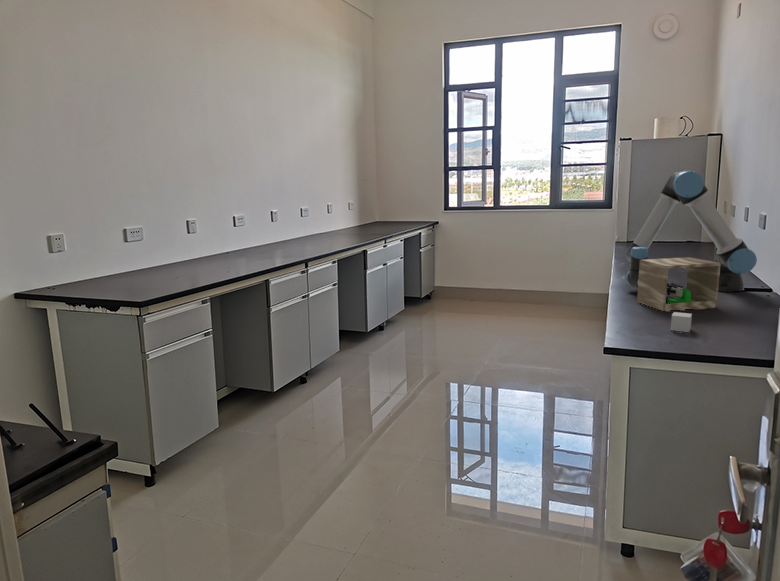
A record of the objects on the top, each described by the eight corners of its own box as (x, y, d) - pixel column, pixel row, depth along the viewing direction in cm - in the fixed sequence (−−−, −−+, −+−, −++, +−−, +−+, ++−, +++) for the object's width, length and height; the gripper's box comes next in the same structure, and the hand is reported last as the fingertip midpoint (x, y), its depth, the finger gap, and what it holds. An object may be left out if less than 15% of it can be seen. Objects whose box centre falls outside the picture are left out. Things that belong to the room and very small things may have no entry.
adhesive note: (689, 333, 203) (690, 317, 202) (670, 331, 206) (671, 315, 205) (690, 329, 208) (691, 313, 207) (672, 327, 211) (673, 311, 210)
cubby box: (687, 299, 256) (690, 257, 252) (716, 307, 239) (720, 262, 235) (637, 302, 252) (639, 259, 248) (662, 311, 235) (666, 265, 231)
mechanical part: (698, 307, 239) (700, 289, 237) (685, 308, 238) (687, 290, 236) (679, 302, 250) (680, 284, 249) (667, 302, 249) (668, 285, 248)
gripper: (664, 290, 264) (700, 300, 241) (635, 292, 262) (668, 303, 239) (665, 274, 263) (701, 283, 240) (635, 276, 260) (669, 285, 237)
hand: (684, 293), depth 239 cm, fingers closed on mechanical part, 2 cm apart
